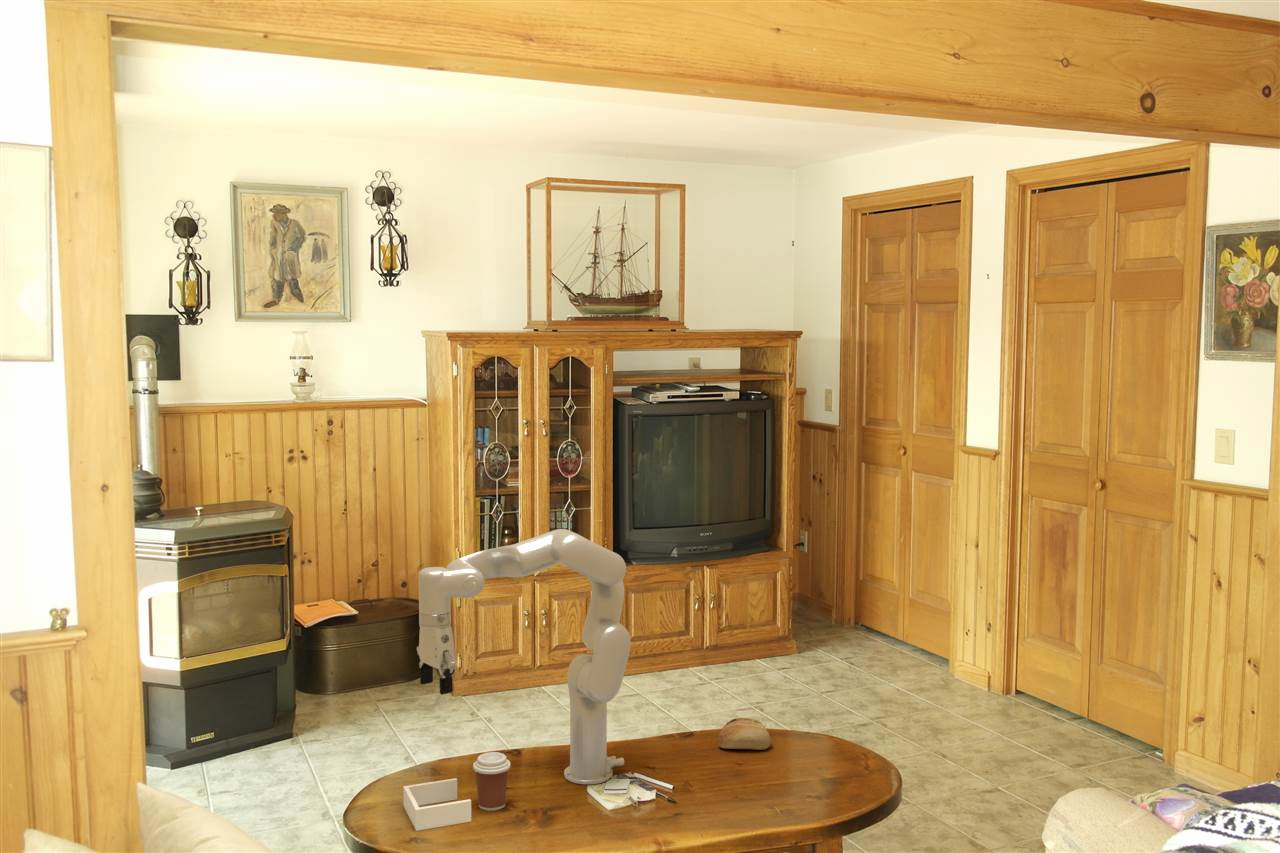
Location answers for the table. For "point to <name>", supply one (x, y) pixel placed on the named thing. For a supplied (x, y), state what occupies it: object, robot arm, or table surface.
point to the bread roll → (744, 735)
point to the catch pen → (435, 813)
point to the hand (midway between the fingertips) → (436, 688)
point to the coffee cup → (491, 780)
